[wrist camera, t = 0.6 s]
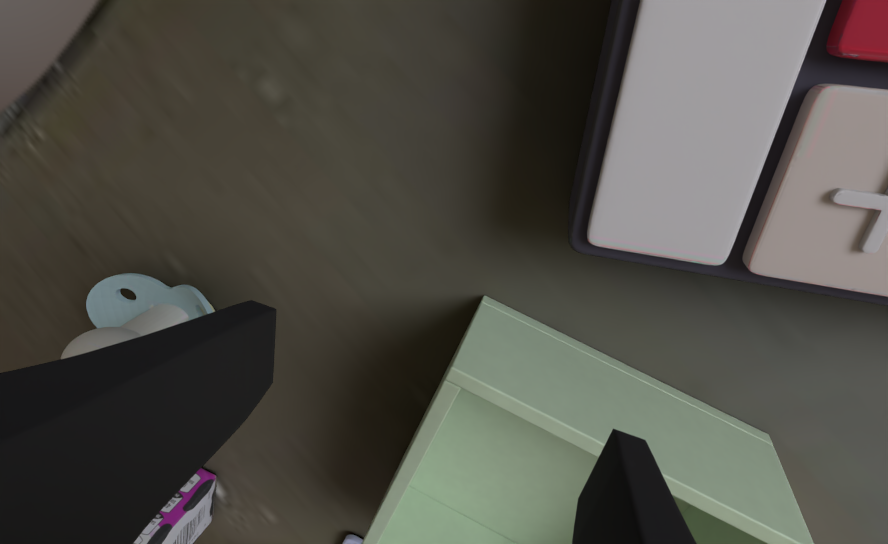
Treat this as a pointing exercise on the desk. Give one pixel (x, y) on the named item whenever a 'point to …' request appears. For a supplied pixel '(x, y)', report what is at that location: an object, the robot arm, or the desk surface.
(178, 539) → the candy bar box
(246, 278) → the desk surface
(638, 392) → the green storage bin
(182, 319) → the pacifier
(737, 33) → the calculator
